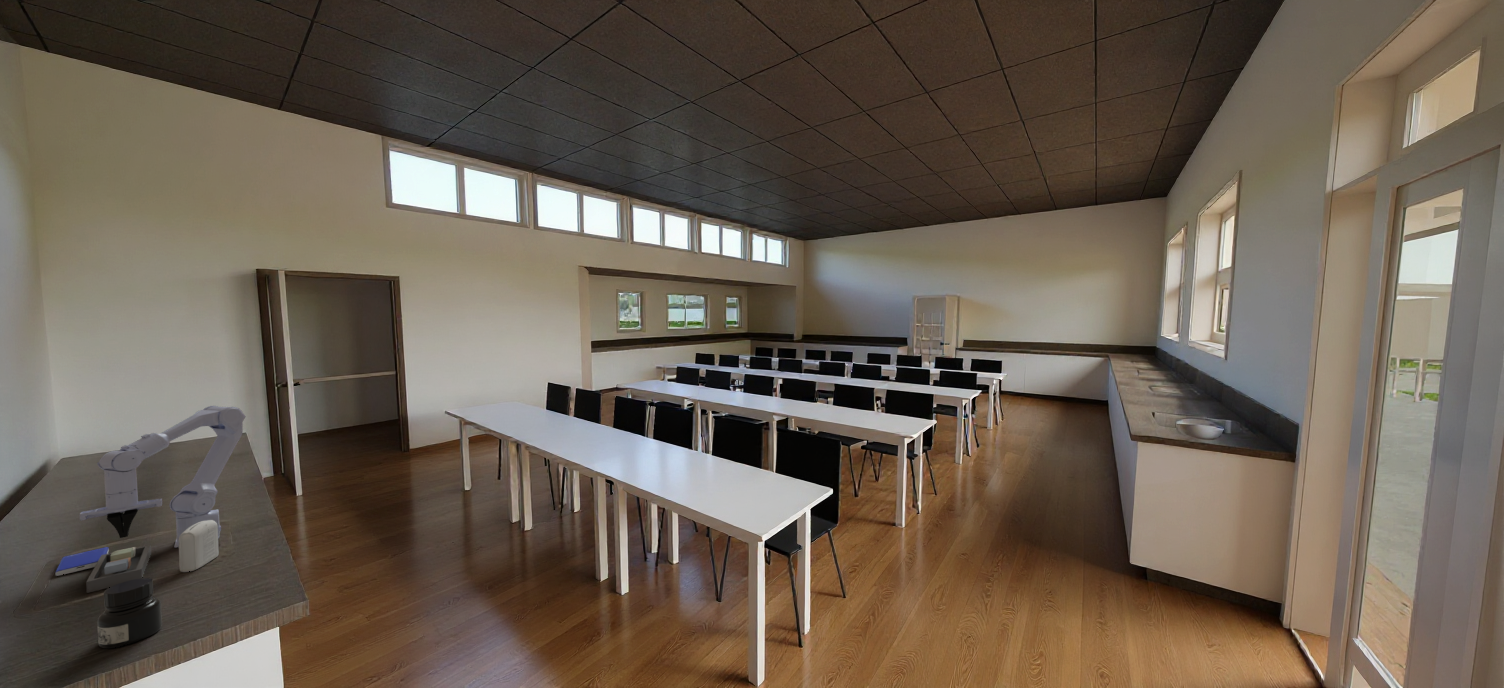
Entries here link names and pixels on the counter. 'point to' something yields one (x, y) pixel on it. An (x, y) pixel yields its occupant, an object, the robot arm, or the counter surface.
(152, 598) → the ink bottle
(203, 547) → the photo printer
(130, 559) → the terracotta key
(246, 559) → the counter surface
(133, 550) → the cream key
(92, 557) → the hard drive
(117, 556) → the sage key
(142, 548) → the dark grey tray
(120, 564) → the slate key
